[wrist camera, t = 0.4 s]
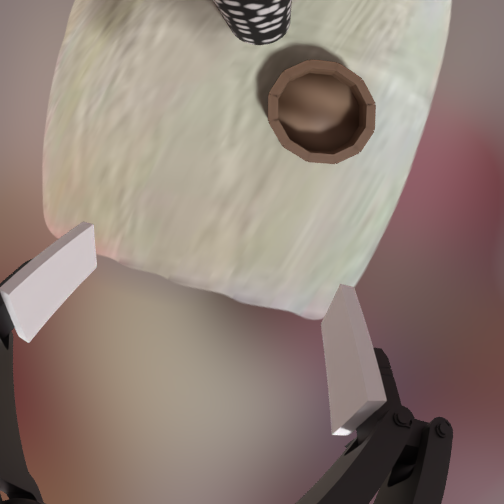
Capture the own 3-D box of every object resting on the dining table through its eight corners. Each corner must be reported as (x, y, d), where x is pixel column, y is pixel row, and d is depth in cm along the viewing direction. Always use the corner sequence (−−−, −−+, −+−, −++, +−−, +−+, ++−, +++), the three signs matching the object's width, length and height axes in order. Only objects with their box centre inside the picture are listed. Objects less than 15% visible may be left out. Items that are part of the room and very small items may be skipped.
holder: (269, 64, 30) (268, 57, 26) (365, 73, 29) (375, 68, 25) (269, 156, 36) (267, 160, 32) (362, 162, 35) (371, 168, 31)
